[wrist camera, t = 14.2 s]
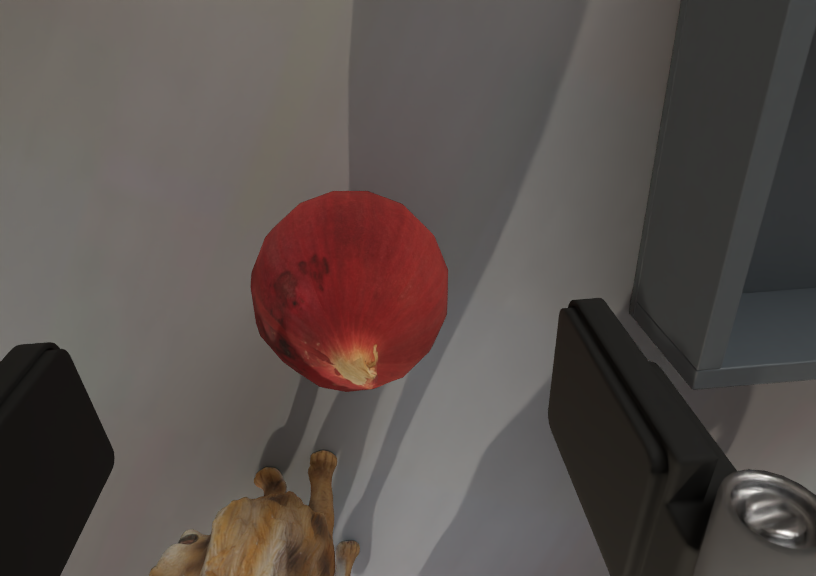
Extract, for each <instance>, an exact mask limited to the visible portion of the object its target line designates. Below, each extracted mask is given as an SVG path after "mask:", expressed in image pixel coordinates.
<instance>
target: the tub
mask: <svg viewBox="0 0 816 576" xmlns="http://www.w3.org/2000/svg"><path fill="white" fill-rule="evenodd" d="M629 313H630V315H631V316H632V317H633V318H634V319H635V320H636V322H637V323H638V324H639V325H640V326H641V328H642V329H643V330H644V331H645V332H646V334H647V335H648V336H649V337H650V339H651V340H652V341H653V342H654V343H655V345H656V346H657V347H658V348H659V350H660V351H661V352H662V353H663V354H664V356H665V357H666V358H667V359H668V361H669V362H670V363H671V364H672V365H673V367H674V368H675V369H676V370H677V372H678V373H679V374H680V375H681V376H682V378H683V379H684V380H685V381H686V383H687V384H688V385H689V386H690V387H691V389H693V390H696V389H708V388H720V387H732V386H744V385H756V384H768V383H780V382H792V381H805V380H816V0H681V6H680V12H679V18H678V24H677V30H676V36H675V42H674V48H673V54H672V60H671V66H670V72H669V78H668V84H667V90H666V96H665V102H664V108H663V114H662V120H661V126H660V132H659V137H658V143H657V149H656V155H655V161H654V167H653V173H652V179H651V185H650V191H649V197H648V203H647V209H646V215H645V221H644V227H643V233H642V239H641V245H640V251H639V257H638V263H637V269H636V275H635V281H634V287H633V293H632V298H631V304H630V310H629Z"/></svg>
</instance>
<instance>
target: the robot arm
mask: <svg viewBox="0 0 816 576" xmlns="http://www.w3.org/2000/svg"><path fill="white" fill-rule="evenodd" d="M548 419H549V425H550V428H551V431H552V434H553V436H554V438H555V441H556V443H557V446H558V448H559V451H560V453H561V456H562V458H563V461H564V463H565V465H566V468H567V470H568V473H569V475H570V478H571V480H572V483H573V485H574V487H575V490H576V492H577V495H578V497H579V500H580V502H581V505H582V507H583V509H584V512H585V514H586V517H587V519H588V522H589V524H590V527H591V529H592V531H593V534H594V536H595V539H596V541H597V544H598V546H599V549H600V551H601V553H602V556H603V558H604V561H605V563H606V566H607V568H608V571H609V573H610V575H611V576H816V495H815V494H813V493H812V492H811V491H809V490H808V489H806V488H805V487H803V486H802V485H801V484H799V483H797V482H794V481H792V480H790V479H788V478H786V477H784V476H782V475H778V474H775V473H771V472H768V471H762V470H750V469H748V470H742V471H737V470H736V469H735V468H734V466H733V465H732V463H731V462H730V461H729V459H728V458H727V457H726V455H725V454H724V453H723V451H722V450H721V449H720V447H719V446H718V445H717V443H716V442H715V441H714V439H713V438H712V437H711V435H710V434H709V433H708V431H707V430H706V428H705V427H704V426H703V424H702V423H701V422H700V420H699V419H698V418H697V416H696V415H695V414H694V412H693V411H692V410H691V408H690V407H689V406H688V404H687V403H686V402H685V400H684V399H683V397H682V396H681V395H680V393H679V392H678V391H677V389H676V388H675V387H674V385H673V384H672V383H671V381H670V380H669V379H668V377H667V376H666V375H665V373H664V372H663V371H662V369H661V368H660V367H659V366H658V365H657V364H656V363H654V362H651V361H648V360H647V359H646V357H645V356H644V355H643V353H642V352H641V351H640V349H639V348H638V346H637V345H636V344H635V342H634V341H633V339H632V338H631V337H630V335H629V334H628V333H627V331H626V330H625V328H624V327H623V326H622V324H621V323H620V322H619V320H618V319H617V317H616V316H615V315H614V313H613V312H612V310H611V309H610V308H609V306H608V305H607V304H606V302H605V301H604V300H603V299H602V298H593V299H581V300H572V301H571V302H570V303H569V306H568V308H562V309H561V310H560V313H559V321H558V329H557V338H556V347H555V355H554V364H553V373H552V382H551V390H550V399H549V408H548ZM113 465H114V451H113V448H112V446H111V444H110V441H109V439H108V437H107V435H106V433H105V431H104V428H103V426H102V424H101V422H100V420H99V417H98V415H97V413H96V411H95V409H94V407H93V404H92V402H91V400H90V398H89V396H88V393H87V391H86V389H85V387H84V385H83V383H82V380H81V378H80V376H79V374H78V372H77V370H76V367H75V365H74V363H73V361H72V359H71V356H70V355H69V353H68V352H67V351H66V350H64V349H60V348H59V347H58V346H57V345H56V344H55V343H51V342H48V343H35V344H23V345H18V346H15V347H14V348H13V349H12V350H11V351H10V352H9V353H8V354H7V355H6V356H5V357H4V358H3V360H2V361H1V362H0V576H60V575H61V573H62V571H63V569H64V567H65V565H66V563H67V561H68V559H69V557H70V555H71V553H72V551H73V548H74V546H75V544H76V542H77V540H78V538H79V536H80V534H81V532H82V530H83V528H84V526H85V524H86V522H87V520H88V518H89V516H90V514H91V512H92V510H93V508H94V506H95V504H96V502H97V499H98V497H99V495H100V493H101V491H102V489H103V487H104V485H105V483H106V481H107V479H108V477H109V475H110V473H111V471H112V468H113Z"/></svg>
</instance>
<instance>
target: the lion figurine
mask: <svg viewBox="0 0 816 576" xmlns="http://www.w3.org/2000/svg"><path fill="white" fill-rule="evenodd" d="M336 466H337V458H336V456H335V455H334V454H332V453H331V452H328V451H325V450H322V451H318V452H315V453H313V454H312V455H311V458H310V467H309V469H308V475H309V480H310V484H311V498H310V503H309V506H307V505H304V504H303V502H302V500H301V499H300V498H299V497H297V495H296V494H295V493H293V492H291V491H288V492H287V493H285V492H286V488H287V485H286V482H285V481H284V479H283V477H282V474H281V473H280V471H278V470H277V469H276V468H272V467H271V468H270V467H265V468H263V469H262V470H260V471H259V472H258V473H257V474H256V476H255V478H254V483H255V485H256V486H257V487H259V488H261V489H263V491H264V496H263V497H259V498H257V499H249V498H247V497H244V498H242V499H239V500H233V501H232V502H231V503H230V504H229V505H228V506H226V507H225V508H223V509H221V510H220V511H219V512H218V513H217V515H216V517H215V520H214V521H213V523H212V532H211V535H202V534H201V533H199V532H198V531H196V530H194V529H192V530H187V531H185V532H184V533H183V535H182V536H181V538H180V540H179V542H178V544H174V545H172V546H170V547H169V548H168V549H167V550H166V551H165V552H164V554H163V555H162V556H161V558H160V560H159V562H158V564H157V565H156V566H155V567H153V568H152V569H151V572H150V574H149V576H334V573H335V576H350V573H351V569H352V566H353V563H354V561H355V559H356V557H357V556H358V554H359V550H360V546H359V544H358V543H357V542H355V541H342V542H340V543H339V544H338V546H337V548H336V572H335V551H334V545H333V538H332V533H333V527H334V509H333V494H332V487H331V482H332V475H333V472H334V469H335V467H336Z"/></svg>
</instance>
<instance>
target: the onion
mask: <svg viewBox="0 0 816 576" xmlns="http://www.w3.org/2000/svg"><path fill="white" fill-rule="evenodd" d="M251 292H252V299H253V306H254V312H255V319H256V324H257V327H258V330H259V333H260V336H261V337H262V338H263V339H264V341H265V342H266V343H267V344H268V345H269V346H270V347H271V349H272V350H273V351H274V352H275V353H276V354H277V355H278V357H279V358H280V359H281V360H282V361H283V362H284V363H286V364H287V365H288V366H290V367H291V368H292V369H294V370H295V371H296V372H298V373H299V374H301V375H302V376H304V377H306V378H307V379H309V380H310V381H312V382H313V383H315V384H316V385H318V386H319V387H323V388H328V389H334V390H339V391H345V392H349V391H359V390H368V389H374V388H377V387H379V386H381V385H384V384H386V383H389V382H391V381H394V380H397V379H399V378H402V377H404V376H405V375H406V374H407V373H408V372H409V371H410V370H411V369H412V368H413V367H414V366H415V365H416V364H417V363H418V362H419V361H420V360H421V359H422V358H423V357H424V356H425V355H426V354H427V353H428V352H429V351H430V349H431V347H432V346H433V344H434V342H435V339H436V337H437V335H438V333H439V331H440V328H441V326H442V324H443V322H444V320H445V317H446V315H447V295H448V269H447V266H446V264H445V261H444V259H443V256H442V254H441V251H440V249H439V247H438V244H437V242H436V239H435V237H434V235H433V234H432V233H431V232H430V231H429V230H428V229H427V228H426V227H425V226H424V225H423V224H422V223H421V222H420V221H419V220H418V219H417V218H416V217H415V216H414V215H413V214H412V213H411V212H410V211H409V210H408V209H407V208H406V207H405V206H404V205H403V204H401V203H398V202H395V201H393V200H390V199H387V198H385V197H382V196H379V195H377V194H374V193H371V192H369V191H332V192H329V193H326V194H324V195H321V196H318V197H316V198H313V199H310V200H307V201H305V202H302V203H300V204H299V205H298V206H296V207H295V208H294V209H293V210H292V211H291V212H290V213H289V214H288V215H287V216H286V217H285V218H283V219H282V220H281V221H280V222H279V223H278V224H277V225H276V226H275V227H274V228H273V229H272V230H271V231H270V232H269V234H268V235H267V236H266V237H265V239H264V242H263V245H262V247H261V250H260V252H259V255H258V257H257V260H256V263H255V265H254V268H253V270H252V274H251Z"/></svg>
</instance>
